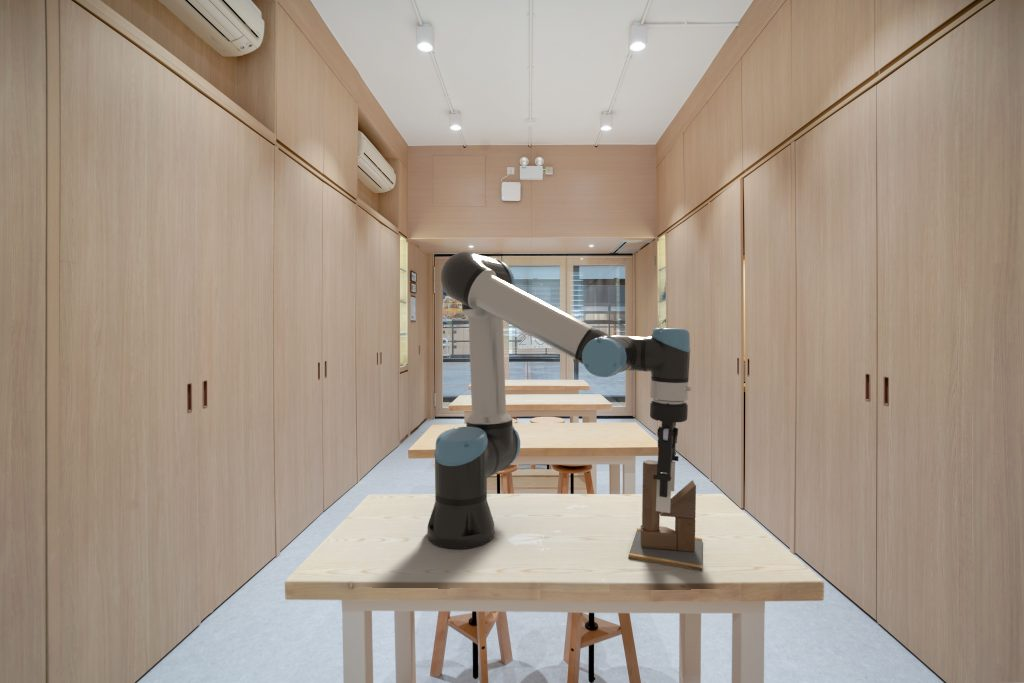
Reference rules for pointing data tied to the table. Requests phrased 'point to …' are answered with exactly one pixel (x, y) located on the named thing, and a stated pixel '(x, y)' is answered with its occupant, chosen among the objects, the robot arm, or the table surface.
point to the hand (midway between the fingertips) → (665, 500)
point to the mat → (667, 554)
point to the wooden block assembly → (679, 508)
